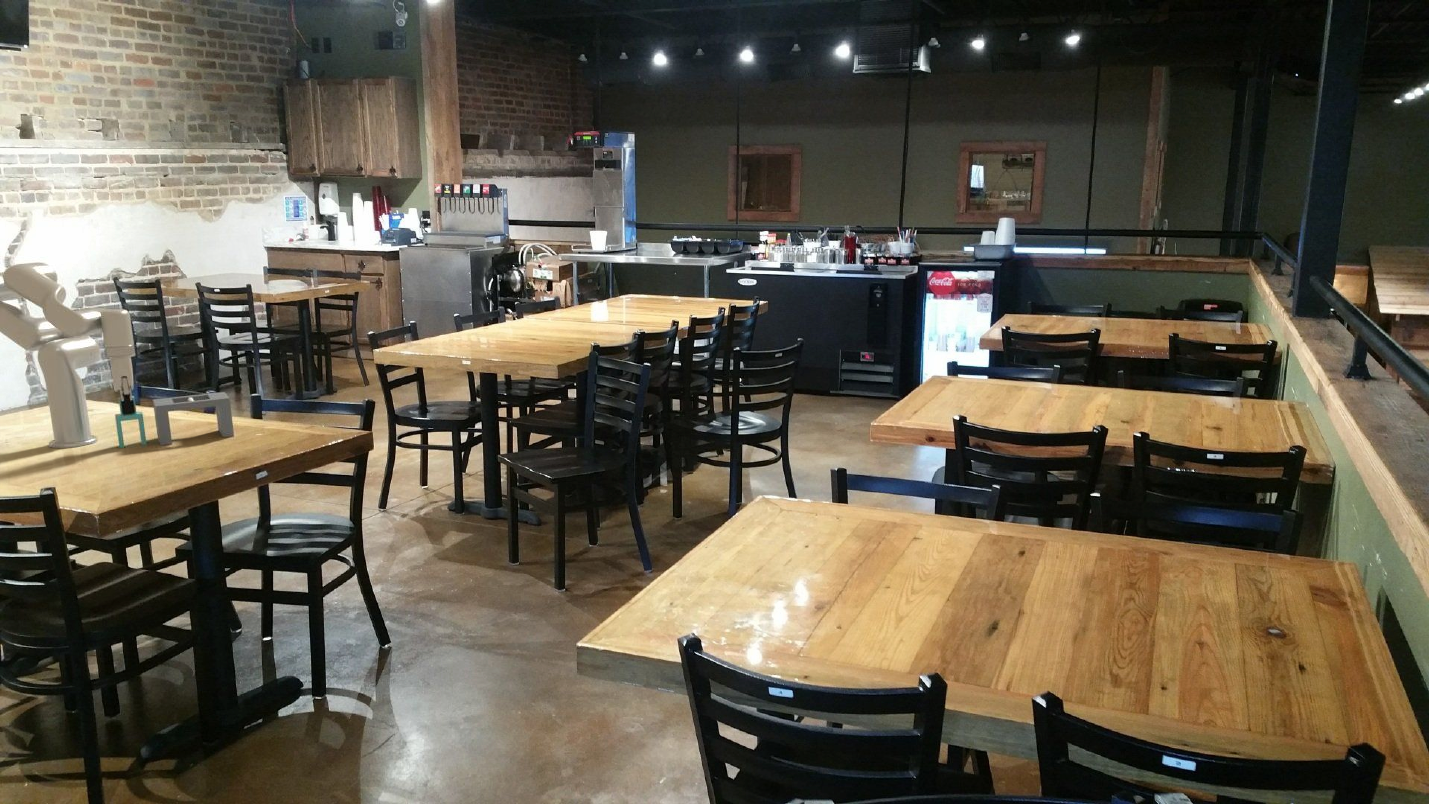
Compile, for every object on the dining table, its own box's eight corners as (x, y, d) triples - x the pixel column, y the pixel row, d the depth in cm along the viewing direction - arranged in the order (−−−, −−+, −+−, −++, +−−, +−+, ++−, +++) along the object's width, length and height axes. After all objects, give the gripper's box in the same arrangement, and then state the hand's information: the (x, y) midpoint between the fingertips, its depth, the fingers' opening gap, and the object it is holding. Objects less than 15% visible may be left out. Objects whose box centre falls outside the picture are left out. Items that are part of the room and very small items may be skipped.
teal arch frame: (119, 445, 306) (112, 397, 303) (145, 442, 310) (139, 395, 307) (119, 448, 303) (113, 400, 300) (146, 444, 307) (140, 397, 304)
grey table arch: (157, 437, 315) (152, 399, 313) (228, 429, 325) (224, 391, 323) (160, 445, 305) (155, 406, 303) (234, 436, 315) (229, 398, 313)
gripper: (104, 349, 305) (112, 409, 309) (106, 356, 292) (115, 419, 296) (133, 347, 309) (141, 406, 313) (136, 353, 296) (144, 416, 300)
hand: (128, 412), depth 304 cm, fingers closed on teal arch frame, 3 cm apart
